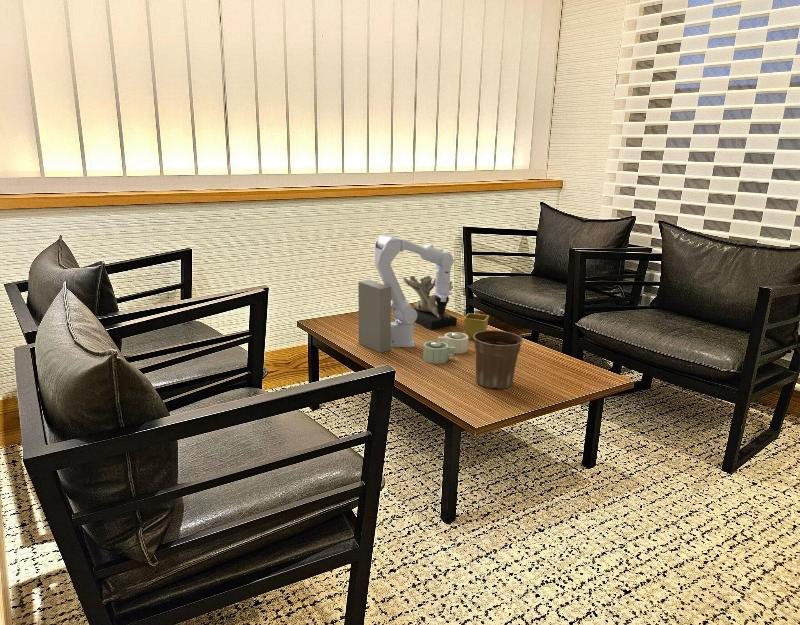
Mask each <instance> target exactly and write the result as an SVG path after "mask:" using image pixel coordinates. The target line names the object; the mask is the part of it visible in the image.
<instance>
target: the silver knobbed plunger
mask: <svg viewBox="0 0 800 625" xmlns="http://www.w3.org/2000/svg"><path fill="white" fill-rule="evenodd" d="M452 332H453V331H452ZM461 333H462V332H458V331H454V332H453V333H452V338H453V339H461Z"/></svg>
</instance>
